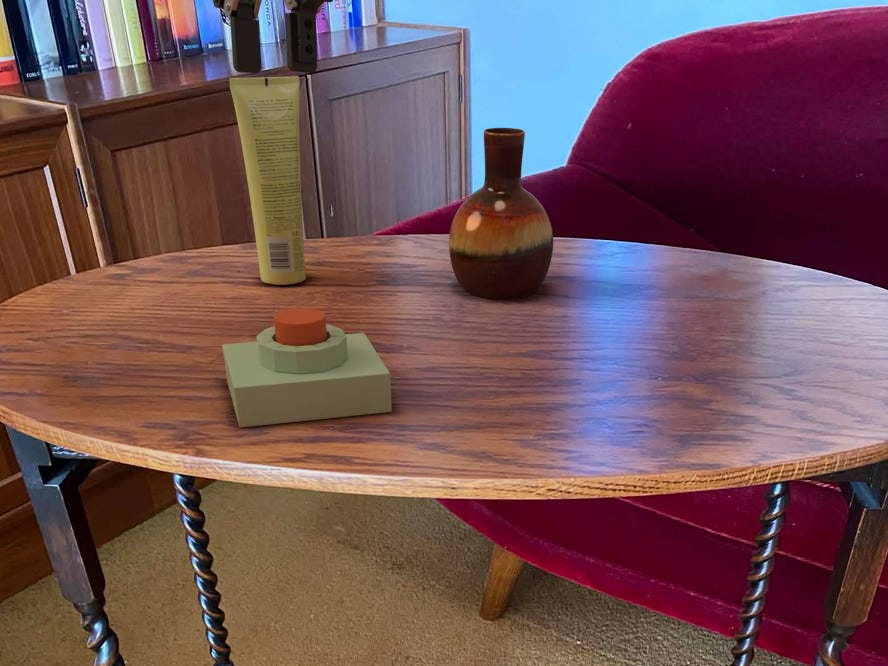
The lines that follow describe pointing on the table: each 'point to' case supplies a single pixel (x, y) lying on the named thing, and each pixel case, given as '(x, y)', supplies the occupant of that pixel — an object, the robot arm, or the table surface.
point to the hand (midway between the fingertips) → (274, 72)
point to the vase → (501, 227)
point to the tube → (273, 172)
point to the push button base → (306, 379)
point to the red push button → (300, 327)
